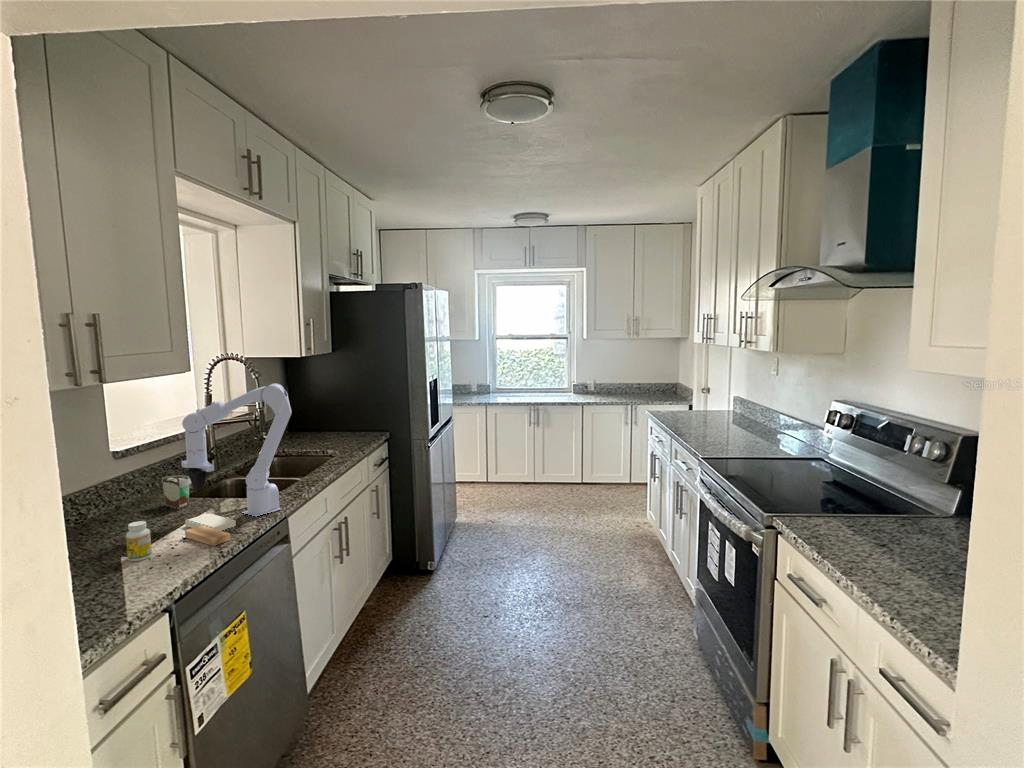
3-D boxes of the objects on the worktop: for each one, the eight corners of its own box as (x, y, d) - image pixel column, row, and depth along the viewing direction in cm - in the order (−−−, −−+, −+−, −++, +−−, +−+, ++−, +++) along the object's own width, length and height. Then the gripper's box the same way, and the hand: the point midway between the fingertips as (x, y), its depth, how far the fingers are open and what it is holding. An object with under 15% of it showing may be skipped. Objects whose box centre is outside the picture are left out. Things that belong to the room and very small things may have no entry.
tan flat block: (202, 531, 161) (201, 525, 161) (230, 540, 155) (230, 533, 154) (185, 537, 157) (185, 530, 157) (213, 546, 150) (213, 539, 150)
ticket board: (209, 519, 173) (208, 512, 172) (235, 526, 166) (235, 519, 166) (185, 526, 166) (185, 519, 166) (212, 534, 159) (212, 527, 159)
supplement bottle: (155, 556, 144) (153, 522, 143) (133, 563, 139) (130, 528, 138) (145, 552, 146) (143, 518, 146) (123, 559, 142) (121, 524, 141)
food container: (199, 505, 187) (198, 477, 186) (181, 510, 181) (179, 482, 180) (181, 499, 193) (179, 473, 192) (163, 504, 188) (161, 477, 187)
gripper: (170, 449, 171) (173, 490, 172) (197, 454, 164) (199, 497, 165) (192, 445, 177) (195, 485, 178) (219, 450, 170) (221, 491, 171)
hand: (198, 490), depth 172 cm, fingers closed
